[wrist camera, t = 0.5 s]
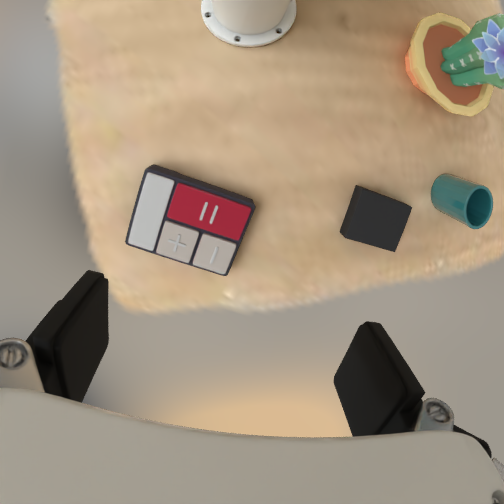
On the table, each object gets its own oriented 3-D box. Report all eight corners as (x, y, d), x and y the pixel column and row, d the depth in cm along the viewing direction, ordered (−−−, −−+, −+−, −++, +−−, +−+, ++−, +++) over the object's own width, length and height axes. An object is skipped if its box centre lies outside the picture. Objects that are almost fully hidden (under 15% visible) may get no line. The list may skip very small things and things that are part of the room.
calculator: (227, 279, 43) (122, 246, 39) (226, 266, 47) (130, 235, 43) (257, 206, 39) (144, 168, 36) (253, 198, 43) (151, 163, 39)
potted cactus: (391, 9, 32) (499, -46, 9) (466, 49, 34) (578, 38, 10) (379, 95, 37) (508, 85, 14) (456, 129, 39) (579, 153, 16)
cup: (438, 167, 42) (473, 179, 33) (463, 181, 43) (497, 194, 34) (425, 204, 44) (458, 222, 36) (451, 216, 45) (483, 234, 37)
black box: (355, 185, 42) (362, 188, 40) (404, 203, 44) (412, 207, 41) (339, 231, 45) (345, 237, 43) (387, 245, 46) (394, 252, 44)
